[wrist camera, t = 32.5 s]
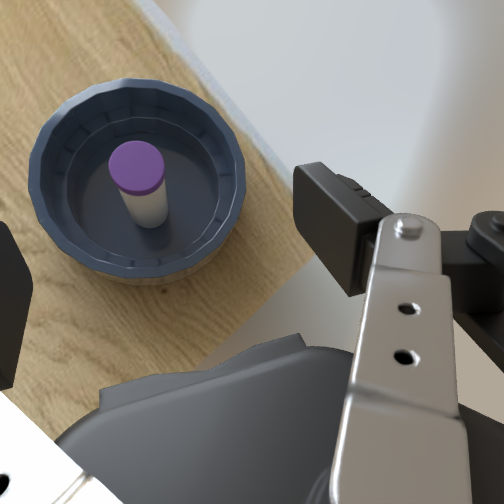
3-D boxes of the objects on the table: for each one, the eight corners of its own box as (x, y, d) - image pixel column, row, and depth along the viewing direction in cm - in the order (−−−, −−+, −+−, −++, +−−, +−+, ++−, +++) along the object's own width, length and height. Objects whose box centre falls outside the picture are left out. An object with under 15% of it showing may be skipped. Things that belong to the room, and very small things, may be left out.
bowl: (253, 148, 38) (267, 116, 32) (209, 307, 34) (214, 303, 29) (90, 95, 36) (73, 50, 30) (26, 257, 33) (-8, 242, 27)
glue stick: (133, 233, 34) (115, 196, 24) (125, 196, 34) (103, 145, 25) (173, 224, 35) (170, 185, 25) (164, 188, 35) (157, 136, 25)
